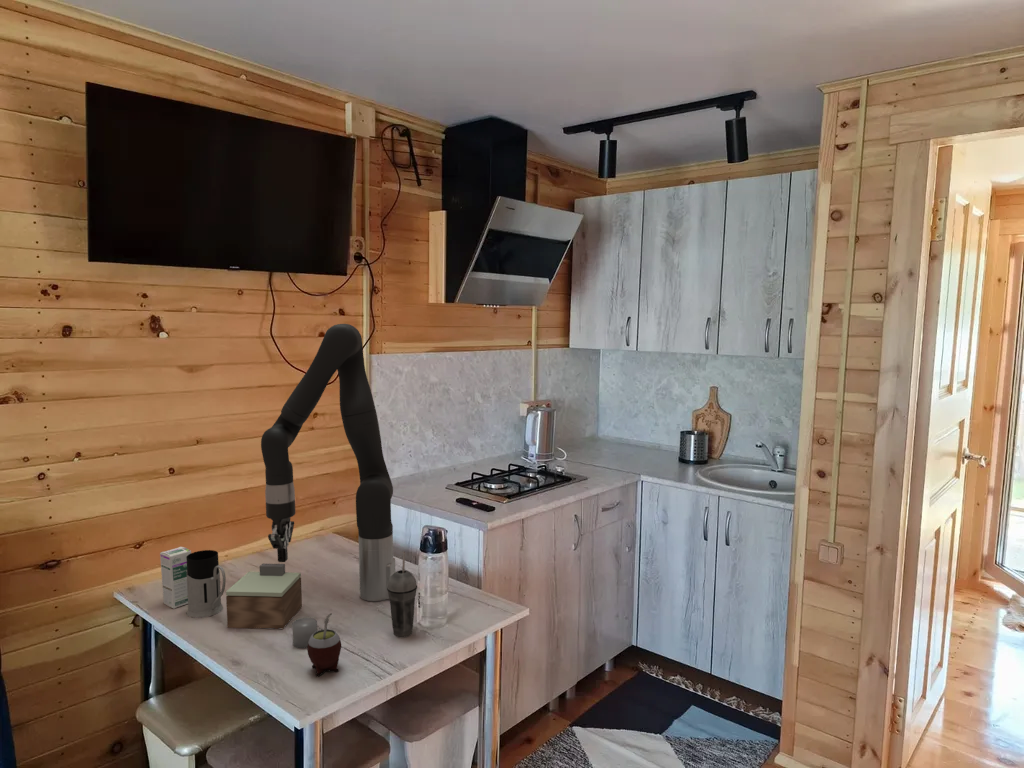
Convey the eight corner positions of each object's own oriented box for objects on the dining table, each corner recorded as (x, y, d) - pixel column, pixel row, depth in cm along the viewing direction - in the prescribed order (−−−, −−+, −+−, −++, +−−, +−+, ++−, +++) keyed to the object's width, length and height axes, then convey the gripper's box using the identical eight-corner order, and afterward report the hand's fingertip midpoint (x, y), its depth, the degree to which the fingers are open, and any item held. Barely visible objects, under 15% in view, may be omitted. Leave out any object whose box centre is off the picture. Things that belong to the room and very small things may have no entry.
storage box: (302, 606, 180) (301, 577, 180) (282, 629, 168) (281, 597, 167) (250, 605, 181) (249, 576, 180) (227, 627, 168) (226, 596, 168)
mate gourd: (320, 659, 153) (317, 595, 151) (351, 664, 151) (349, 599, 149) (300, 676, 146) (298, 609, 144) (333, 681, 144) (330, 613, 142)
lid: (300, 576, 180) (300, 563, 179) (281, 596, 167) (281, 582, 166) (249, 575, 180) (248, 562, 180) (226, 595, 167) (225, 581, 167)
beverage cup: (381, 637, 163) (380, 556, 161) (397, 624, 170) (396, 546, 168) (408, 642, 161) (406, 560, 159) (423, 629, 167) (422, 550, 165)
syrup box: (173, 609, 179) (170, 556, 177) (162, 603, 182) (159, 551, 181) (194, 602, 183) (192, 550, 182) (183, 596, 187) (180, 545, 185)
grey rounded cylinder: (321, 637, 163) (320, 617, 163) (312, 649, 158) (312, 628, 157) (298, 637, 164) (297, 617, 163) (289, 648, 158) (288, 627, 158)
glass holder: (211, 600, 184) (208, 547, 183) (242, 614, 176) (239, 557, 174) (179, 612, 177) (177, 556, 176) (210, 626, 169) (207, 568, 167)
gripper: (284, 505, 177) (287, 570, 178) (302, 492, 190) (304, 552, 191) (256, 505, 177) (259, 570, 179) (276, 492, 190) (278, 552, 192)
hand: (282, 561), depth 185 cm, fingers closed
